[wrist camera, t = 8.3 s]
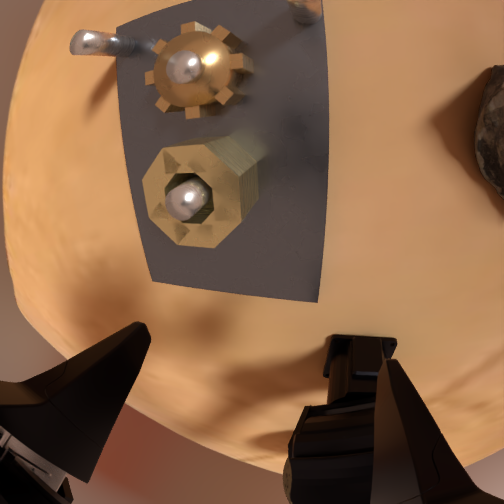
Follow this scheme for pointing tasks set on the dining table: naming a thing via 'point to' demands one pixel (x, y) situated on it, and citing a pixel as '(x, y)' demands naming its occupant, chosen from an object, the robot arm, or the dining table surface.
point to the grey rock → (492, 131)
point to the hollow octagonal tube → (215, 175)
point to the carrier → (230, 133)
